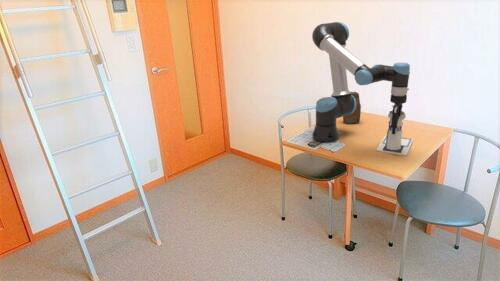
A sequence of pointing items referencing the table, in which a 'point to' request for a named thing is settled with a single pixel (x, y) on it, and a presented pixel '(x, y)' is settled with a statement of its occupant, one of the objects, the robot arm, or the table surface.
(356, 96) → the block
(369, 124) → the table surface
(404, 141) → the stamp station
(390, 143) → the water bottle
